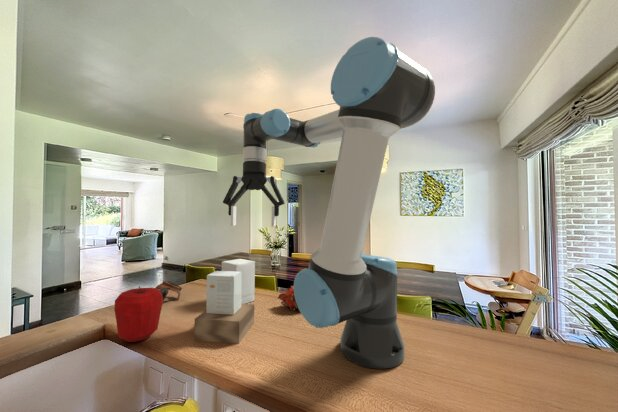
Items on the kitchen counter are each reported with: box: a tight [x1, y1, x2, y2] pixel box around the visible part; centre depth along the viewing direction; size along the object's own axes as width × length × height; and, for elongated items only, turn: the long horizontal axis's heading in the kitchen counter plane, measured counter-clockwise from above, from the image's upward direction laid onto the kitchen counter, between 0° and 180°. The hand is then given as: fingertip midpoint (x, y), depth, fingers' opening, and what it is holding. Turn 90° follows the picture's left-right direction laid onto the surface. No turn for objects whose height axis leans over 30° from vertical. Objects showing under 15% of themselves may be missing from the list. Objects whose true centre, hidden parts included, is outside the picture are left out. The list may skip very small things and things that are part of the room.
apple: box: [113, 285, 164, 343], centre depth 67 cm, size 10×10×14 cm
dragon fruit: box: [277, 285, 300, 311], centre depth 89 cm, size 8×8×12 cm
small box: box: [205, 270, 241, 315], centre depth 72 cm, size 8×6×10 cm
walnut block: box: [193, 303, 255, 345], centre depth 71 cm, size 12×12×6 cm
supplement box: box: [221, 258, 256, 304], centre depth 95 cm, size 9×9×15 cm
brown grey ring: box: [154, 280, 183, 302], centre depth 94 cm, size 12×10×8 cm
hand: (253, 226), depth 84 cm, fingers open, 13 cm apart
